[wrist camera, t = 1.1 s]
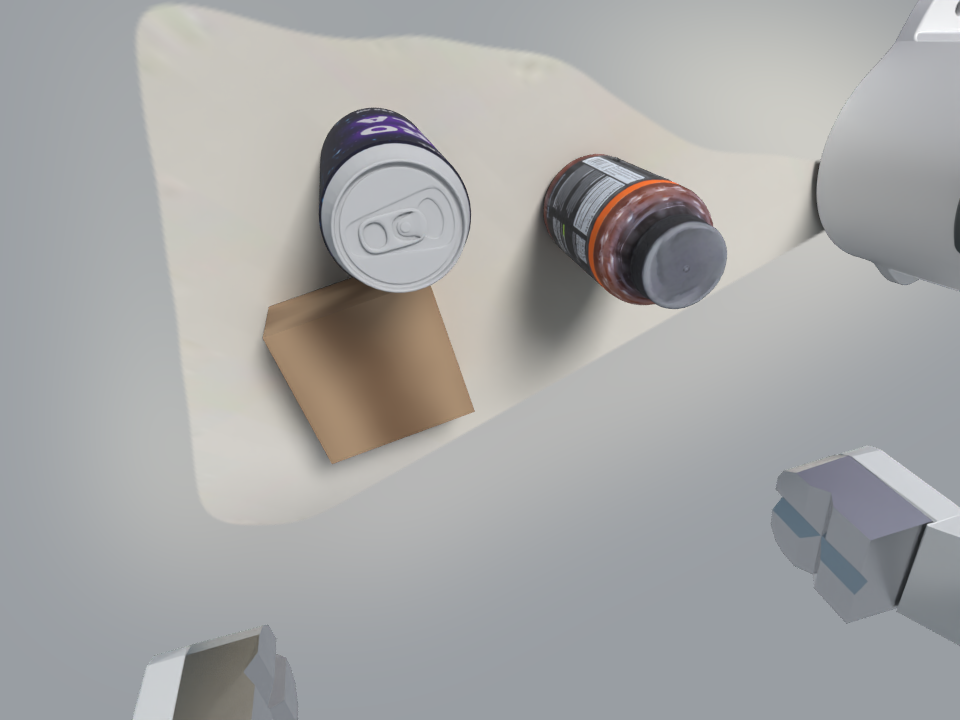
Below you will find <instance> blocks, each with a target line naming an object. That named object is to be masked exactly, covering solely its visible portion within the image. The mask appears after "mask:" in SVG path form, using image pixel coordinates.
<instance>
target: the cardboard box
mask: <svg viewBox="0 0 960 720" xmlns="http://www.w3.org/2000/svg"><path fill="white" fill-rule="evenodd" d="M263 340H264V341H265V343H266V345H267V347H268V349H269V350H270V352H271V354H272V356H273V358H274V360H275V361H276V363H277V365H278V367H279V369H280V370H281V372H282V374H283V376H284V378H285V380H286V381H287V383H288V385H289V387H290V389H291V390H292V392H293V394H294V396H295V398H296V400H297V401H298V403H299V405H300V407H301V409H302V410H303V412H304V414H305V416H306V418H307V420H308V421H309V423H310V425H311V427H312V429H313V430H314V432H315V434H316V436H317V438H318V440H319V441H320V443H321V445H322V447H323V449H324V450H325V452H326V454H327V456H328V458H329V459H330V461H331V463H332V464H334V463H336V462H339V461H342V460H345V459H347V458H350V457H353V456H355V455H358V454H361V453H364V452H366V451H369V450H372V449H374V448H377V447H380V446H383V445H385V444H388V443H391V442H393V441H396V440H399V439H402V438H404V437H407V436H410V435H412V434H415V433H418V432H421V431H423V430H426V429H429V428H431V427H434V426H437V425H440V424H442V423H445V422H448V421H450V420H453V419H456V418H459V417H461V416H464V415H467V414H469V413H472V412H475V411H474V408H473V405H472V402H471V400H470V397H469V394H468V391H467V388H466V385H465V382H464V380H463V377H462V374H461V371H460V368H459V365H458V363H457V360H456V357H455V354H454V351H453V348H452V345H451V343H450V340H449V337H448V334H447V331H446V328H445V325H444V323H443V320H442V317H441V314H440V311H439V308H438V306H437V303H436V300H435V297H434V294H433V291H432V288H431V286H428V287H426V288H423V289H420V290H417V291H412V292H405V293H394V292H386V291H382V290H378V289H375V288H373V287H370V286H368V285H366V284H364V283H362V282H360V281H359V280H357V279H355V278H354V277H353V278H350V279H347V280H344V281H341V282H338V283H335V284H333V285H330V286H327V287H324V288H321V289H318V290H316V291H313V292H310V293H307V294H304V295H301V296H298V297H296V298H293V299H290V300H287V301H284V302H281V303H278V304H276V305H273V306H270V307H269V309H268V314H267V319H266V324H265V329H264V334H263Z"/></svg>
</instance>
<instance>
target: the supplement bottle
mask: <svg viewBox="0 0 960 720" xmlns="http://www.w3.org/2000/svg"><path fill="white" fill-rule="evenodd" d="M544 221H545V225H546V227H547V230H548V233H549V234H550V236H551V238H552V239H553V240H554V241H555V243H556V244H557V245H558V246H559V247H560V248H561V249H562V250H563V251H564V252H565V253H566V254H567V255H568V256H569V257H570V258H572V260H574V261H575V262H576V263H577V264H578V265H579V266H580V267H581V268H583V269H584V270H585V271H586V272H587V273H588V274H589V275H590V276H591V277H592V278H594V279H595V280H596V281H597V282H598V283H599V284H600V285H601V286H602V287H604V288H605V289H606V290H607V291H608V292H609V293H610V294H612V295H613V296H615V297H617V298H618V299H620V300H622V301H624V302H627V303H631V304H636V305H651V304H657V305H658V306H661V307H664V308H669V309H679V308H685V307H688V306H690V305H693V304H695V303H697V302H699V301H700V300H701V299H703V298H704V297H705V296H706V295H707V294H709V293H710V292H711V290H713V289H714V287H715V286H716V285H717V283H718V282H719V280H720V278H721V276H722V275H723V272H724V269H725V265H726V260H727V249H726V244H725V241H724V239H723V237H722V235H721V234H720V233H719V232H718V230H717V229H716V228H714V227H713V222H712V219H711V215H710V213H709V211H708V209H707V207H706V206H705V204H704V202H703V201H702V200H701V199H700V198H699V197H698V196H697V195H696V194H695V193H694V192H692V191H691V190H689V189H687V188H685V187H683V186H681V185H679V184H676V183H674V182H672V181H670V180H669V179H665V178H663V177H661V176H658V175H656V174H653V173H651V172H649V171H647V170H644V169H642V168H639V167H637V166H635V165H633V164H630V163H628V162H625V161H623V160H621V159H619V158H616V157H612V156H608V155H604V154H593V155H587V156H583V157H580V158H578V159H576V160H574V161H572V162H570V163H569V164H568V165H566V166H565V167H564V168H563V169H562V170H561V171H560V172H559V173H558V174H557V175H556V177H555V178H554V179H553V181H552V183H551V184H550V186H549V188H548V191H547V193H546V196H545V201H544Z"/></svg>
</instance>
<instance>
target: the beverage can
mask: <svg viewBox="0 0 960 720" xmlns="http://www.w3.org/2000/svg"><path fill="white" fill-rule="evenodd" d="M319 223H320V229H321V234H322V237H323V240H324V242H325V245H326V247H327V249H328V251H329V253H330V254H331V256H332V257H333V259H334V260H335V261H336V262H337V264H338V265H339V266H340V267H341V268H342V269H343V270H344V271H345V272H347V273H348V274H349V275H351V276H352V277H354V278H355V279H357V280H359V281H360V282H362V283H364V284H366V285H368V286H370V287H373V288H375V289H378V290H382V291H386V292H394V293H405V292H412V291H417V290H420V289H423V288H426V287H428V286H430V285H432V284H434V283H435V282H437V281H438V280H440V279H441V278H443V277H444V276H445V275H446V274H447V273H448V272H449V271H450V270H451V269H452V267H453V266H454V265H455V264H456V262H457V260H458V259H459V257H460V255H461V253H462V251H463V248H464V245H465V243H466V240H467V238H468V234H469V230H470V223H471V208H470V201H469V197H468V193H467V190H466V188H465V185H464V183H463V181H462V179H461V177H460V176H459V174H458V173H457V171H456V170H455V169H454V167H453V166H452V165H451V164H450V163H449V162H448V161H447V160H446V159H445V158H444V157H443V155H442V154H441V153H440V152H439V151H438V150H437V149H436V148H435V147H434V146H433V145H432V143H431V142H430V141H429V140H428V139H427V138H426V137H425V136H424V135H423V134H422V133H421V132H420V130H419V129H418V128H417V127H416V126H415V125H414V124H413V123H412V122H411V121H409V120H408V119H407V118H405V117H404V116H402V115H400V114H398V113H396V112H394V111H391V110H387V109H382V108H365V109H361V110H357V111H354V112H352V113H350V114H348V115H346V116H345V117H343V118H342V119H341V120H339V121H338V122H337V123H336V124H335V125H334V126H333V128H332V129H331V130H330V132H329V133H328V135H327V137H326V139H325V141H324V144H323V147H322V151H321V159H320V195H319Z"/></svg>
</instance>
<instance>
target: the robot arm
mask: <svg viewBox="0 0 960 720" xmlns="http://www.w3.org/2000/svg"><path fill="white" fill-rule="evenodd" d="M956 5H957V8H956ZM955 8H956V10H955ZM817 206H818V212H819V216H820V219H821V223H822V225H823V227H824V230H825V231H826V233H827V235H828V236H829V238H830V239H831V240H832V241H833V243H834V244H836V245H837V246H838V247H839V248H840V249H842V250H843V251H845V252H846V253H848V254H851V255H853V256H856V257H860V258H863V259H866V260H869V261H871V262H873V263H874V264H875V265H876V267H877V268H878V270H879V271H880V272H881V274H882V275H883V276H884V277H885V278H886V279H887V280H889V281H892V282H895V283H898V284H901V285H908V284H911V283H913V282H915V281H917V280H919V279H921V280H924V281H927V282H931V283H934V284H937V285H940V286H943V287H946V288H950V289H953V290H956V291H959V292H960V0H919V1H918V2H917V4H916V5H915V7H914V9H913V10H912V12H911V14H910V15H909V17H908V19H907V22H906V23H905V25H904V27H903V29H902V31H901V33H900V35H899V36H898V38H897V40H896V42H895V43H894V45H893V46H892V47H891V49H890V50H889V51H888V53H886V55H885V56H884V57H883V58H882V59H881V60H880V61H879V62H878V63H877V64H876V65H875V66H874V68H873V69H872V70H871V71H870V72H869V73H868V74H867V75H866V76H865V77H864V79H863V80H862V81H861V82H860V84H859V85H858V86H857V87H856V89H855V90H854V92H853V93H852V94H851V96H850V97H849V99H848V100H847V102H846V103H845V105H844V107H843V108H842V110H841V112H840V113H839V115H838V117H837V119H836V121H835V123H834V125H833V127H832V130H831V132H830V134H829V136H828V139H827V142H826V144H825V148H824V151H823V154H822V158H821V162H820V166H819V171H818V179H817ZM776 490H777V491H778V492H779V493H780V494H781V496H782V498H781V499H780V501H779V502H778V503H777V504H776V506H775V507H774V508H773V510H772V518H771V527H772V530H773V534H774V537H775V540H776V542H777V544H778V546H779V547H780V549H781V551H782V552H783V554H784V555H785V556H786V557H787V558H788V559H789V561H790V562H791V563H792V564H793V565H794V566H795V567H798V568H800V569H802V570H804V571H807V572H809V573H811V574H813V581H814V589H815V590H816V591H817V592H818V593H819V594H820V595H821V596H822V597H823V599H824V600H825V601H826V602H827V603H828V604H829V605H830V606H831V607H832V608H833V609H834V611H835V612H836V613H837V614H838V615H839V616H840V617H841V618H842V619H843V620H844V622H846V624H847V623H850V622H853V621H857V620H860V619H863V618H866V617H869V616H873V615H876V614H880V613H883V612H886V611H889V610H893V609H896V608H897V612H898V613H900V614H902V615H904V616H906V617H908V618H909V619H911V620H913V621H915V622H917V623H919V624H920V625H922V626H924V627H926V628H928V629H930V630H932V631H933V632H935V633H937V634H939V635H941V636H943V637H944V638H946V639H948V640H950V641H952V642H954V643H956V644H957V645H959V646H960V508H959V507H958V506H957V505H955V504H954V503H953V502H951V501H950V500H949V499H947V498H946V497H945V496H943V495H942V494H940V493H939V492H938V491H936V490H935V489H934V488H932V487H931V486H930V485H928V484H927V483H925V482H924V481H923V480H921V479H920V478H919V477H917V476H916V475H914V474H913V473H912V472H910V471H909V470H908V469H906V468H905V467H903V466H902V465H901V464H899V463H898V462H897V461H895V460H894V459H892V458H891V457H890V456H888V455H887V454H886V453H884V452H883V451H882V450H880V449H877V448H875V447H872V446H869V445H868V446H865V447H861V448H858V449H855V450H851V451H848V452H845V453H841V454H839V455H833V456H829V457H826V458H823V459H820V460H816V461H813V462H810V463H807V464H804V465H801V466H797V467H794V468H791V469H788V470H785V471H783V472H782V473H781V474H780V476H779V477H778V480H777V485H776ZM132 720H298V701H297V692H296V685H295V680H294V677H293V673H292V670H291V667H290V665H289V663H288V661H287V659H286V657H283V656H281V655H278V654H276V637H275V636H274V634H273V632H272V630H271V629H270V627H269V625H263V626H259V627H256V628H252V629H248V630H245V631H241V632H238V633H233V634H230V635H226V636H222V637H218V638H215V639H211V640H207V641H203V642H200V643H196V644H192V645H189V646H186V647H182V648H179V649H175V650H172V651H168V652H165V653H161V654H157V655H154V657H153V658H152V659H151V661H150V663H149V664H148V666H147V667H146V669H145V673H144V676H143V681H142V684H141V688H140V692H139V695H138V699H137V703H136V706H135V710H134V714H133V718H132Z"/></svg>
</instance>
